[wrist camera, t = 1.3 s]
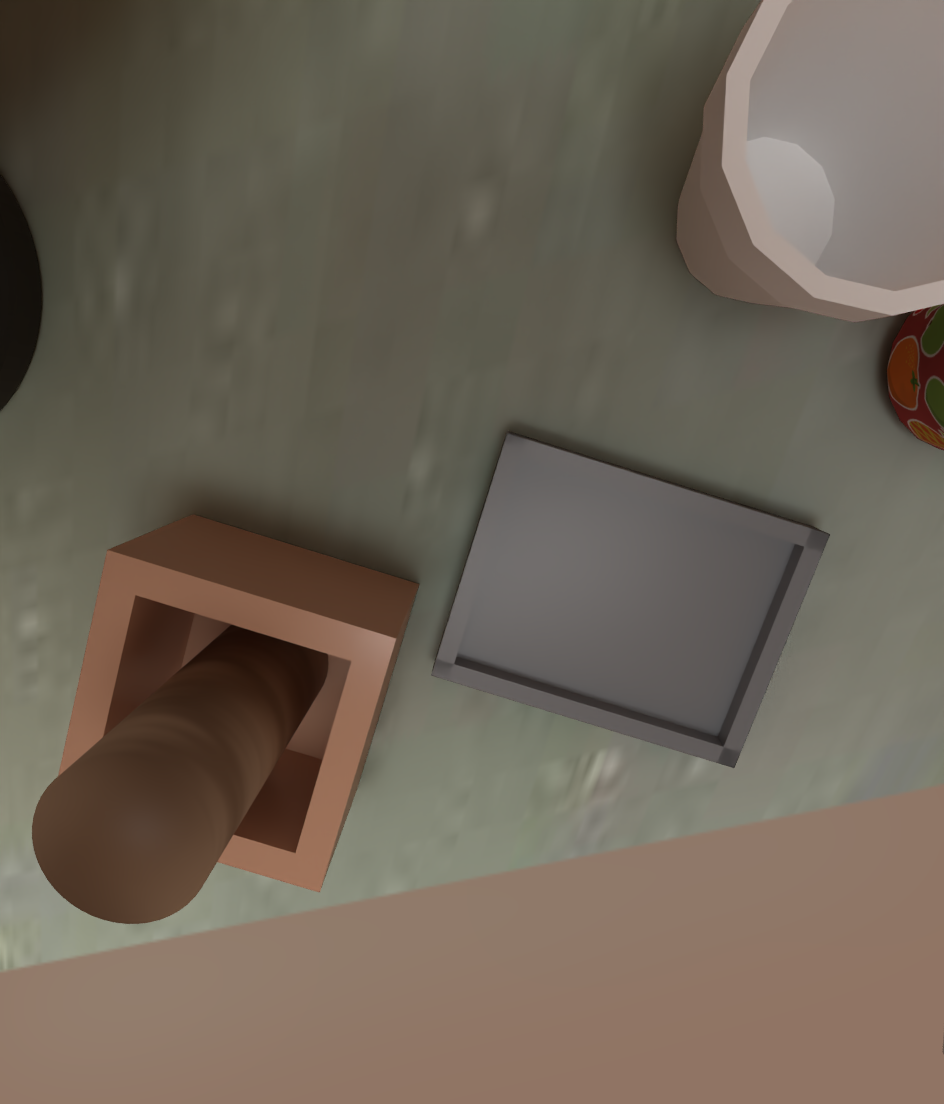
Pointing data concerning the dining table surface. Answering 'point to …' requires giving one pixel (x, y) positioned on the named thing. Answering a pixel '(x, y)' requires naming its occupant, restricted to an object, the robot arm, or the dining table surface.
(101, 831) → the dowel
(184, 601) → the open box
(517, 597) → the tray
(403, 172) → the dining table surface
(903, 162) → the foam cup
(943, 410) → the smoothie
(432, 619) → the dining table surface
